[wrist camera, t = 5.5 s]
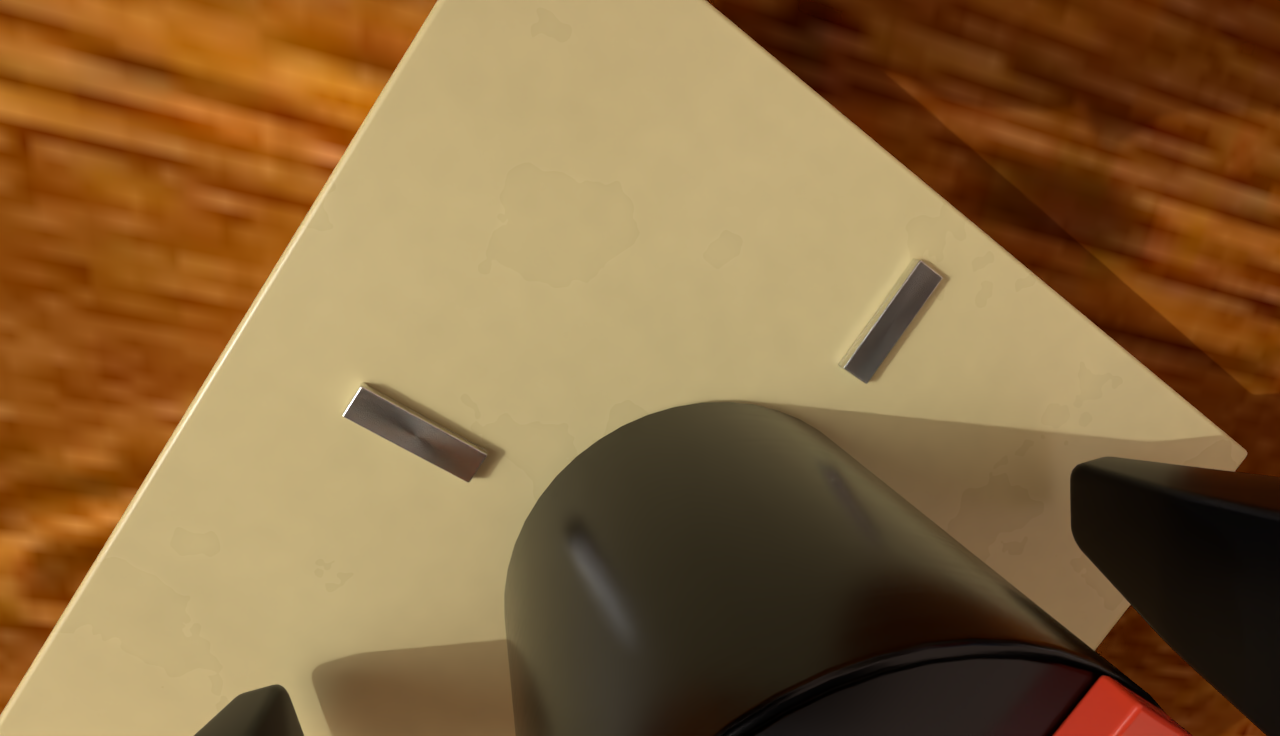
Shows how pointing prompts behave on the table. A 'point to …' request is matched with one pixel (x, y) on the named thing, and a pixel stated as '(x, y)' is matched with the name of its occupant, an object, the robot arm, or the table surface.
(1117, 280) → the table surface
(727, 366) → the panel
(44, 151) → the table surface
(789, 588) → the stove knob
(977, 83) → the table surface
